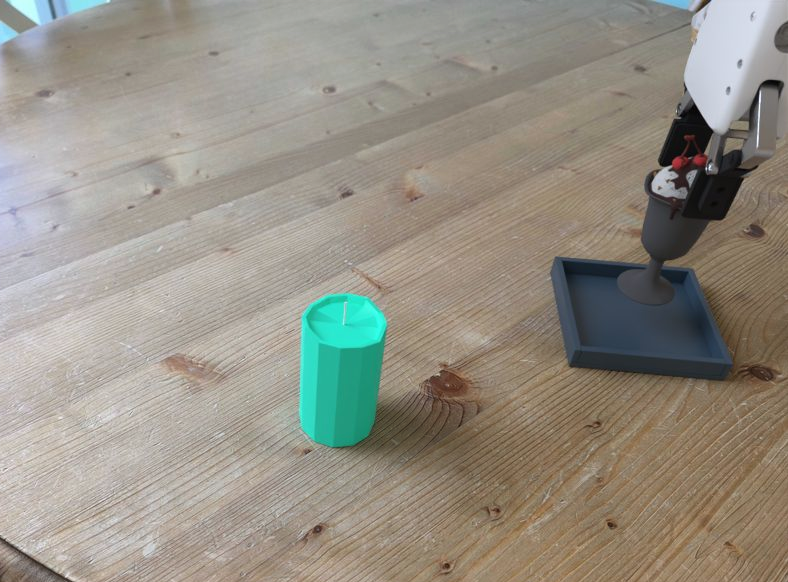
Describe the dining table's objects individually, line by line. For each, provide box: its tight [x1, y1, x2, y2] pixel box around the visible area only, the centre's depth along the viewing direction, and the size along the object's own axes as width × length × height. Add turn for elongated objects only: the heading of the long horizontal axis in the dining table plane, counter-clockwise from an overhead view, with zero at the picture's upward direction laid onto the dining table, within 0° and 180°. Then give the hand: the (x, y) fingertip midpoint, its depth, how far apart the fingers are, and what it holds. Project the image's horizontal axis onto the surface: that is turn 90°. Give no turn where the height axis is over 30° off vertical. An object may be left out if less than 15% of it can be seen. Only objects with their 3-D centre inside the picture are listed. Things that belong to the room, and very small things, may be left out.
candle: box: [298, 292, 388, 448], centre depth 55 cm, size 6×6×12 cm
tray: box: [549, 256, 734, 381], centre depth 68 cm, size 13×13×2 cm
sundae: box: [617, 135, 712, 306], centre depth 61 cm, size 7×7×15 cm
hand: (689, 189), depth 59 cm, fingers closed on sundae, 6 cm apart
